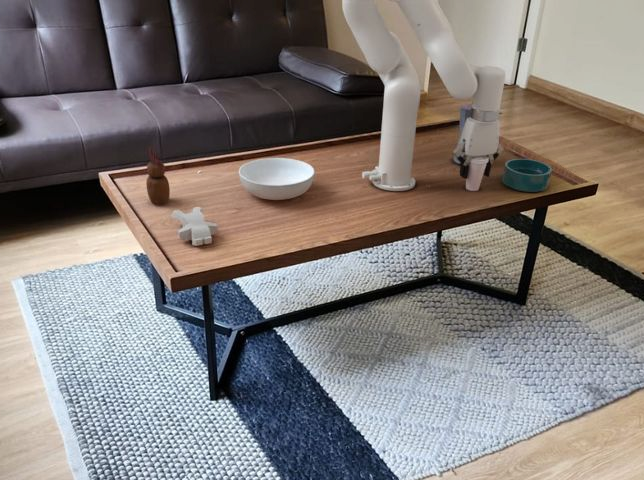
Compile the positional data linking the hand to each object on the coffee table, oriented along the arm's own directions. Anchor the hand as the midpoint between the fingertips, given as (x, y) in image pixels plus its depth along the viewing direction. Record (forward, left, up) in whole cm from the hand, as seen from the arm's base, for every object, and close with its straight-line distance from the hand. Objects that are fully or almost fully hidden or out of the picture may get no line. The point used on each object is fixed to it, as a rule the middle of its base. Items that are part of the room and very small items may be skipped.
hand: (474, 175), depth 185 cm
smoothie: (0, 0, -4) cm, 4 cm away
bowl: (+17, -1, -4) cm, 17 cm away
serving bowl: (-56, +10, -4) cm, 57 cm away
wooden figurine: (-88, +12, -4) cm, 89 cm away
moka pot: (+9, +19, -4) cm, 21 cm away
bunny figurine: (-82, -9, -4) cm, 82 cm away
